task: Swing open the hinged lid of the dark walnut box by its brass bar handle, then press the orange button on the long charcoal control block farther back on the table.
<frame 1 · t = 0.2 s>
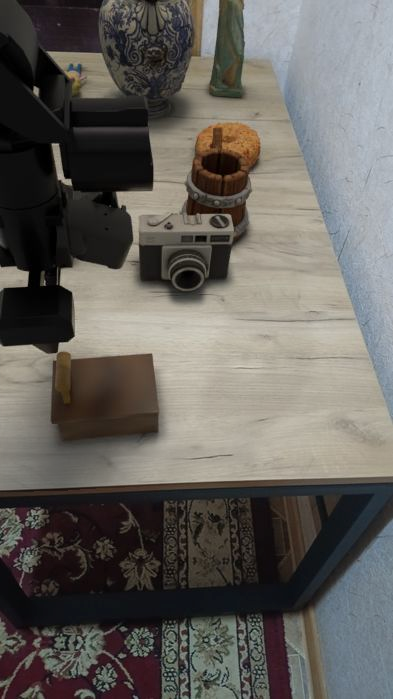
hand: (53, 317, 51), 14 cm above the table, tool pointing down, fingers open, 9 cm apart
chest: (109, 406, 62), on the table
button: (51, 236, 75), point 3 cm above the table, slide at 0.1 cm
statue: (226, 92, 114), on the table
camera: (182, 278, 76), on the table
figurine: (73, 84, 112), on the table
decorative vase: (147, 107, 108), on the table
mug: (212, 219, 86), on the table
control block: (68, 224, 82), on the table
bagel: (226, 158, 98), on the table
lid: (103, 377, 56), point 7 cm above the table, hinge at 0.0°
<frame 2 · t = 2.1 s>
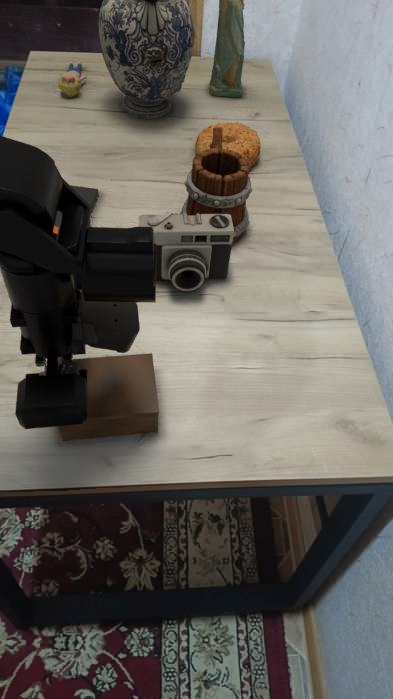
hand: (66, 385, 56), 6 cm above the table, tool pointing down, fingers closed on lid, 4 cm apart
lid: (103, 377, 56), point 7 cm above the table, hinge at 0.0°, touching gripper
everything else where it was.
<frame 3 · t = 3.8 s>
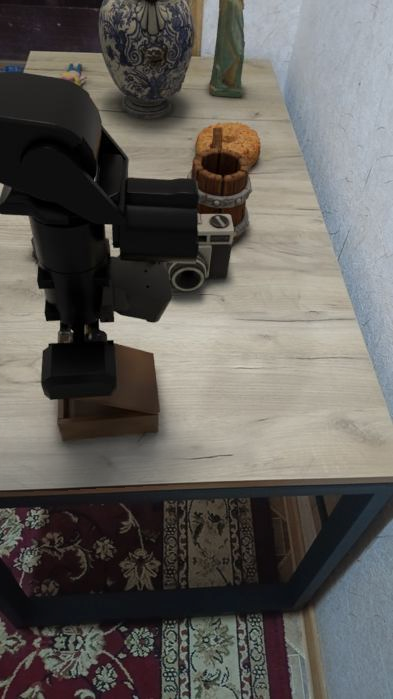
hand: (87, 360, 53), 10 cm above the table, tool pointing down, fingers closed on lid, 4 cm apart
lid: (117, 362, 54), point 9 cm above the table, hinge at 29.3°, touching gripper
everything else where it was.
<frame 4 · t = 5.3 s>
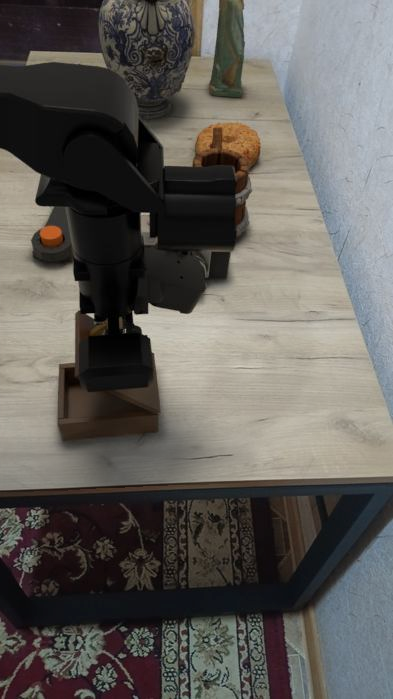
hand: (117, 353, 53), 11 cm above the table, tool pointing down, fingers open, 5 cm apart
lid: (132, 355, 54), point 10 cm above the table, hinge at 47.6°
everything else where it was.
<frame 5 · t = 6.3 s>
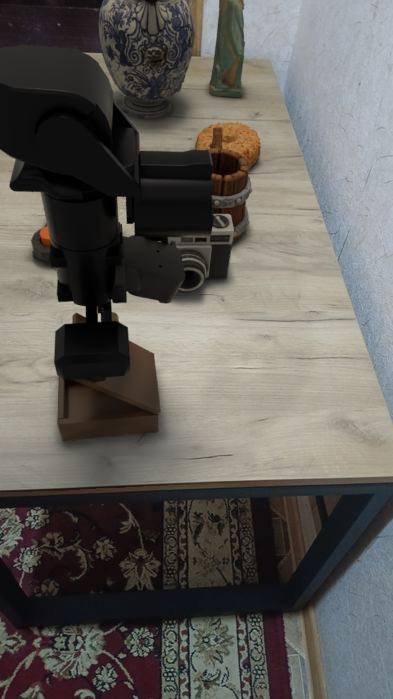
hand: (98, 344, 53), 12 cm above the table, tool pointing down, fingers open, 9 cm apart
lid: (130, 356, 54), point 10 cm above the table, hinge at 45.2°, touching gripper
everything else where it was.
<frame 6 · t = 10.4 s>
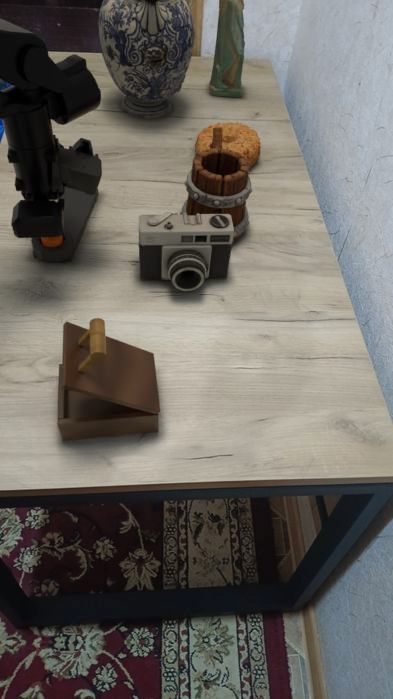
hand: (51, 235, 74), 4 cm above the table, tool pointing down, fingers closed, pressing on button
button: (52, 239, 75), point 3 cm above the table, slide at -0.4 cm, touching gripper
lid: (122, 359, 54), point 10 cm above the table, hinge at 36.4°
everything else where it was.
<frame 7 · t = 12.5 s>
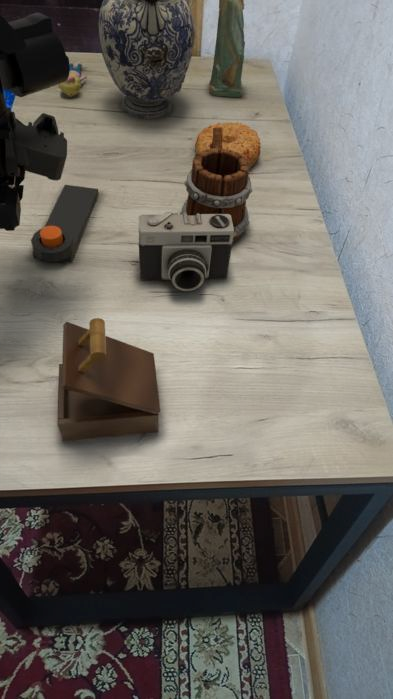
hand: (10, 228, 64), 11 cm above the table, tool pointing down, fingers closed
button: (51, 236, 75), point 3 cm above the table, slide at 0.1 cm
everything else where it was.
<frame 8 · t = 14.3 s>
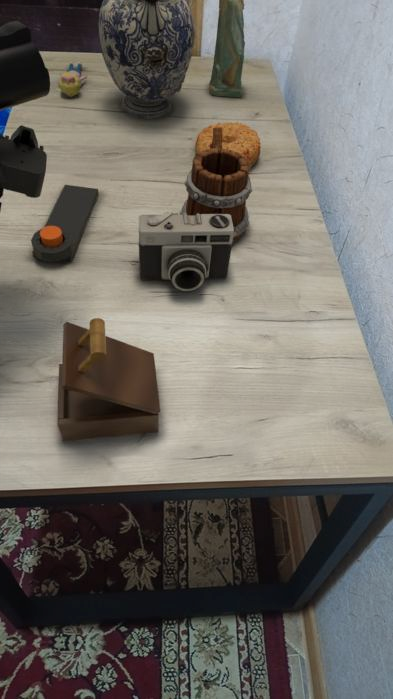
nothing on the table moved.
at the end: lid at +36° (first picture: +0°); button pushed in 1.1 cm at the most during the clip, back to where it started at the end; button slide at 0.1 cm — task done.
